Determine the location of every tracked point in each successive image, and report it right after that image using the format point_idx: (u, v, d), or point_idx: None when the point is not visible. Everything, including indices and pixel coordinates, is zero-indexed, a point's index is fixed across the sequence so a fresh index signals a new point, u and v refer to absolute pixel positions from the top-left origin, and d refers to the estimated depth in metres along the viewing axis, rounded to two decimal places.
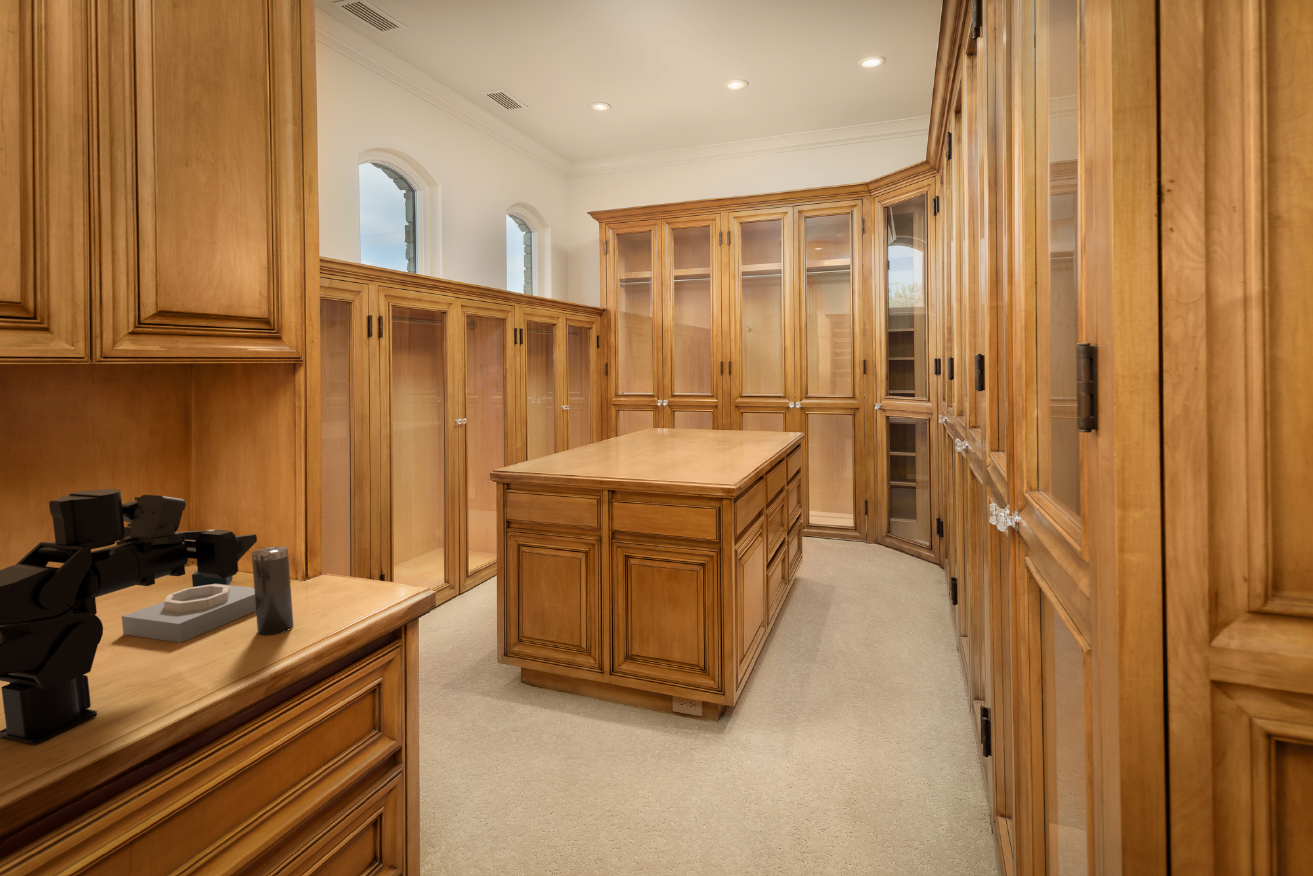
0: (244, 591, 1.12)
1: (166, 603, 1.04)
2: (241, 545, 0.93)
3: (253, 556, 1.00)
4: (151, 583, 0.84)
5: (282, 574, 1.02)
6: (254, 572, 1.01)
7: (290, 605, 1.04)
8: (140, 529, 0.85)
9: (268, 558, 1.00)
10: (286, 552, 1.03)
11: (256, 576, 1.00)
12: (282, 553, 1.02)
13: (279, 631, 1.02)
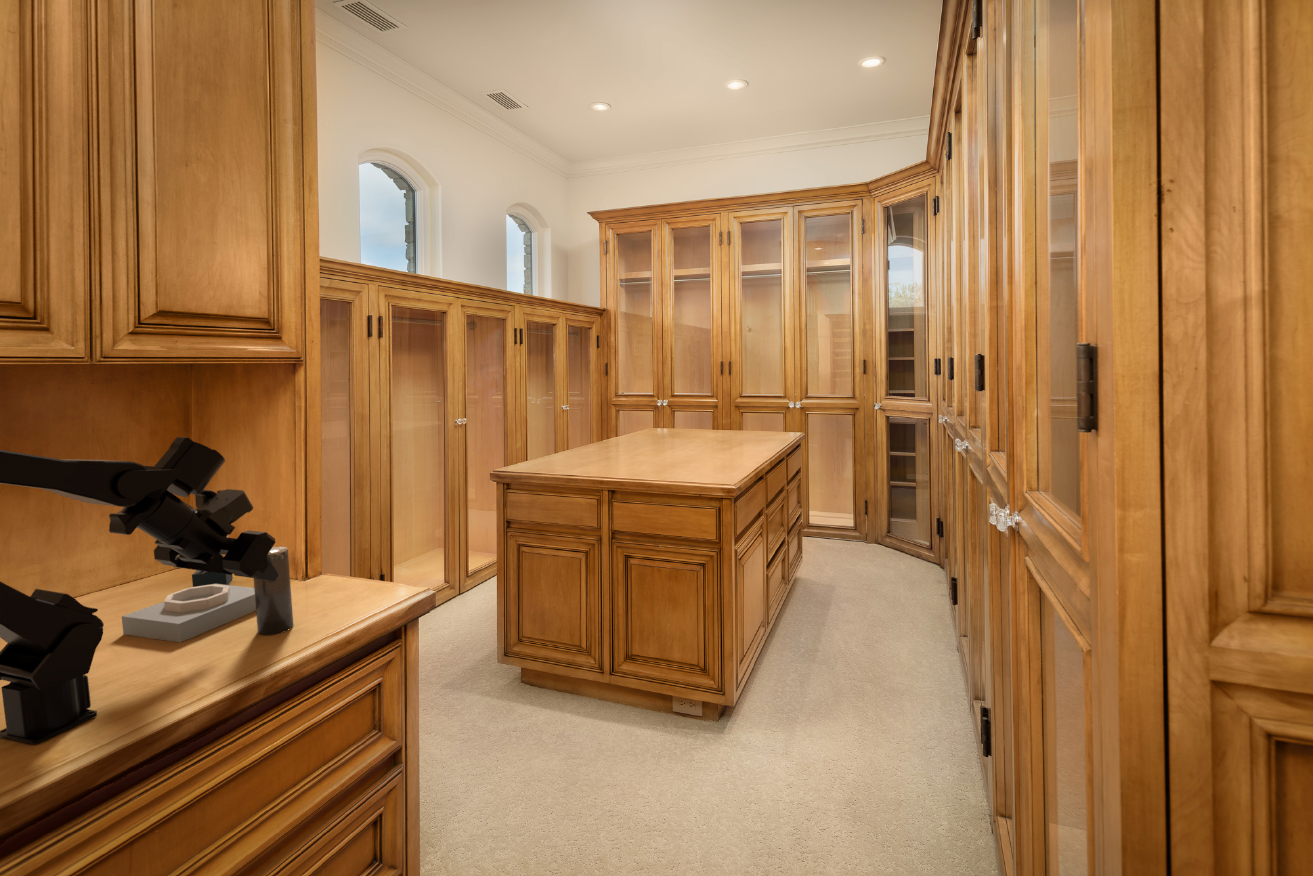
0: (244, 591, 1.12)
1: (166, 603, 1.04)
2: (265, 568, 0.95)
3: None
4: (182, 546, 0.87)
5: (282, 574, 1.02)
6: None
7: (290, 605, 1.04)
8: (206, 508, 0.93)
9: None
10: (286, 552, 1.03)
11: None
12: (282, 553, 1.02)
13: (279, 631, 1.02)
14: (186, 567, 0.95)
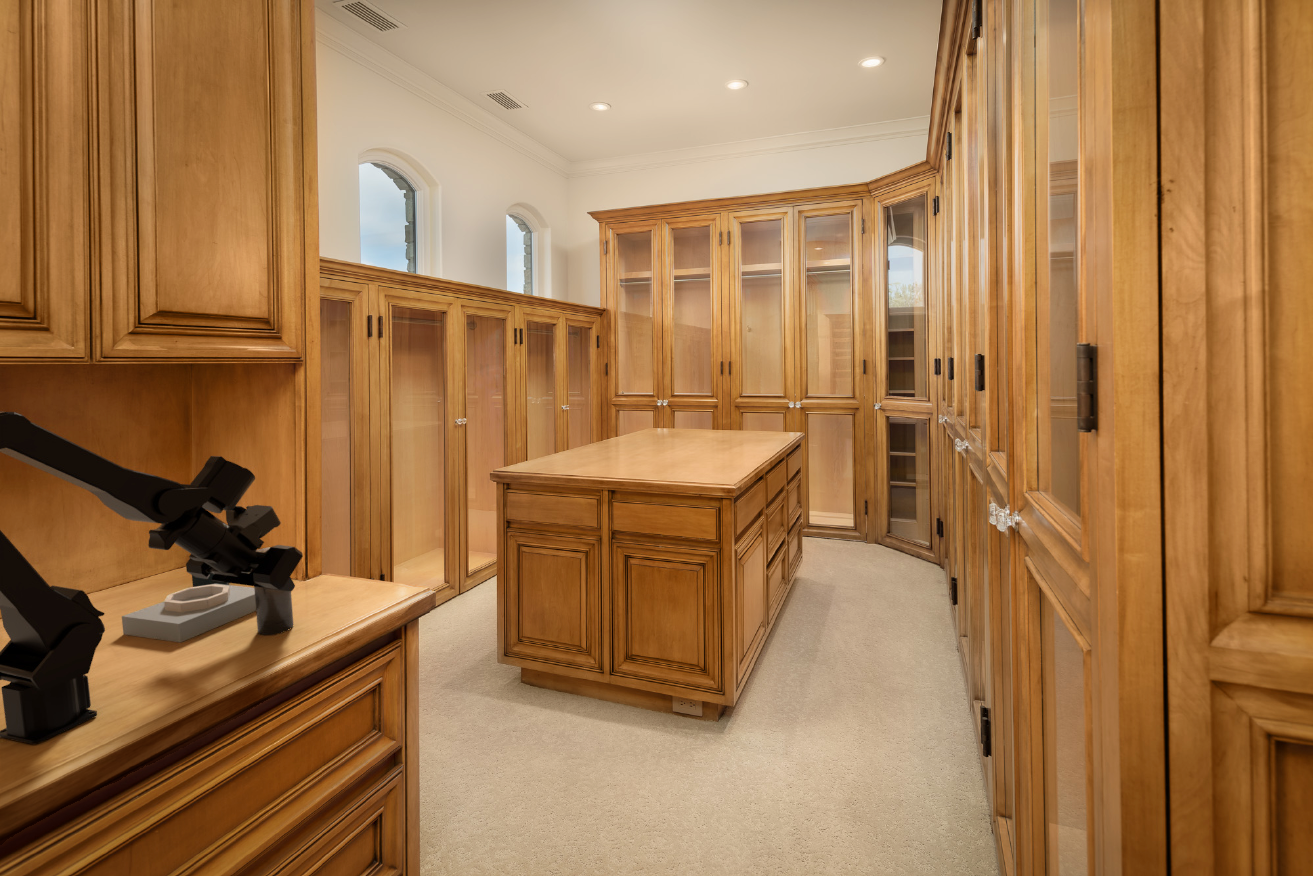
0: (244, 591, 1.12)
1: (166, 603, 1.04)
2: None
3: None
4: (215, 560, 0.91)
5: None
6: None
7: (290, 605, 1.04)
8: (237, 523, 0.97)
9: None
10: None
11: None
12: None
13: (279, 631, 1.02)
14: (225, 581, 0.99)
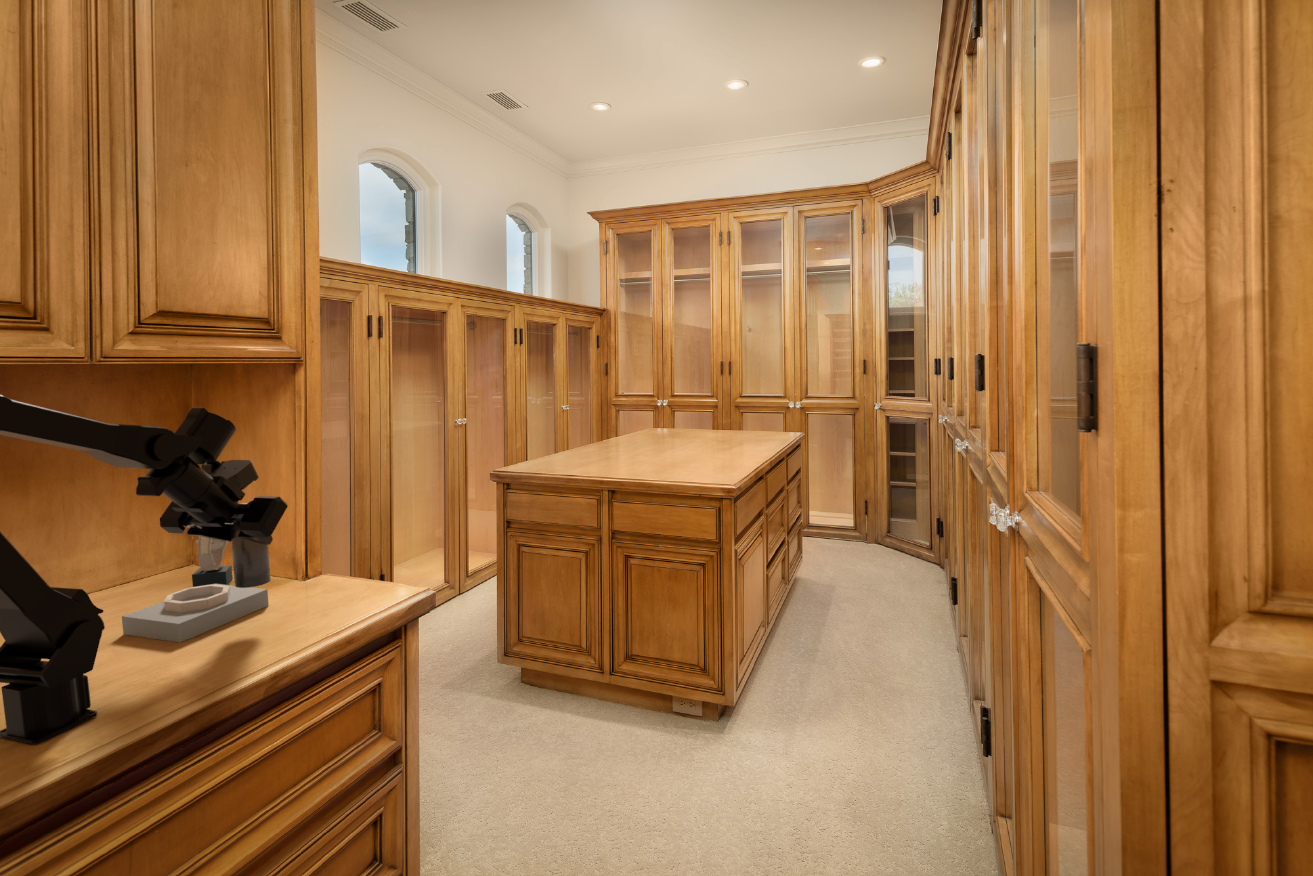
0: (244, 591, 1.12)
1: (166, 603, 1.04)
2: None
3: None
4: (202, 509, 0.93)
5: None
6: (232, 525, 1.02)
7: (268, 558, 1.05)
8: (216, 476, 0.99)
9: None
10: None
11: (234, 530, 1.02)
12: None
13: (259, 583, 1.04)
14: (203, 534, 0.99)
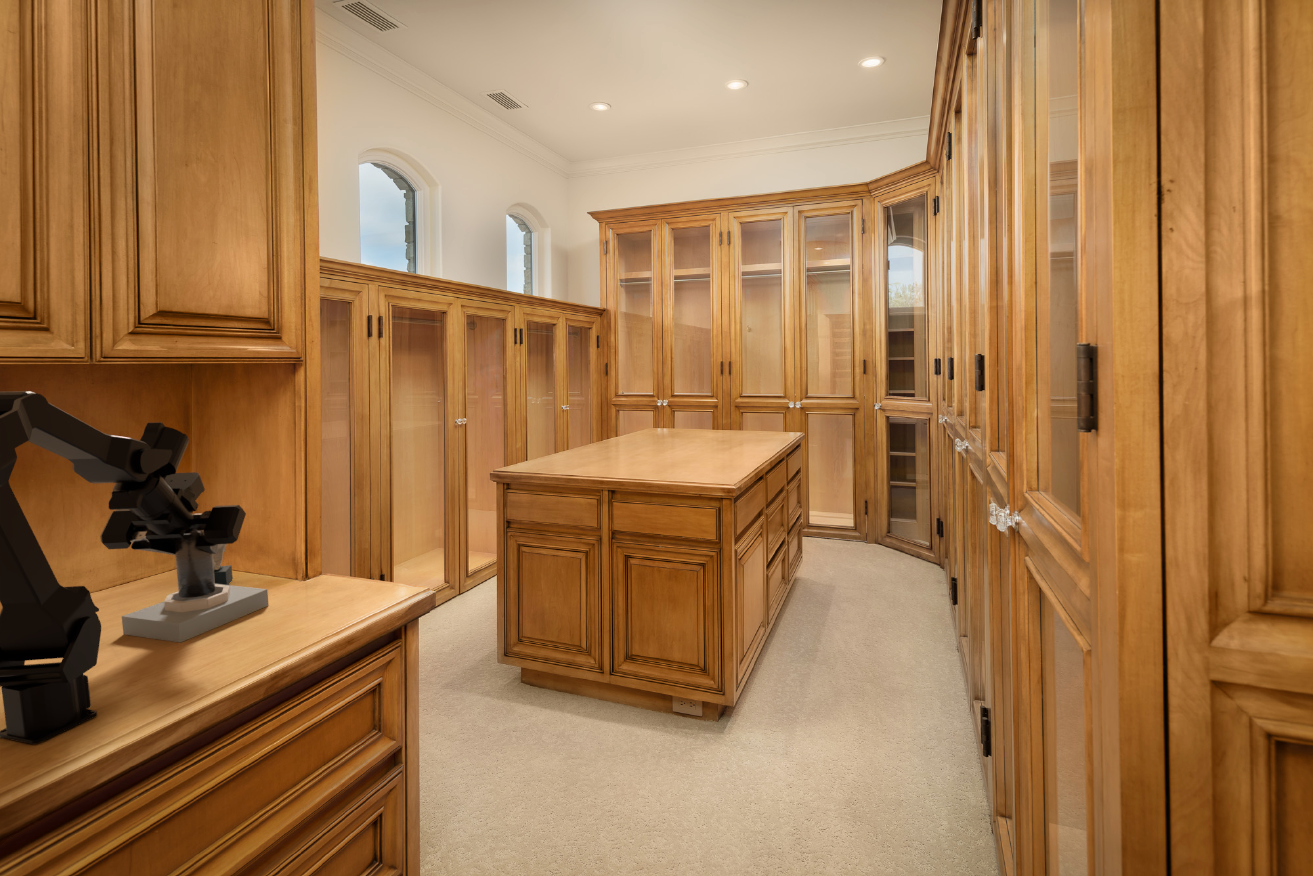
0: (244, 591, 1.12)
1: (166, 603, 1.04)
2: None
3: None
4: (168, 520, 0.96)
5: None
6: None
7: (213, 567, 1.08)
8: None
9: None
10: None
11: (182, 541, 1.04)
12: None
13: (208, 592, 1.07)
14: (151, 547, 1.01)
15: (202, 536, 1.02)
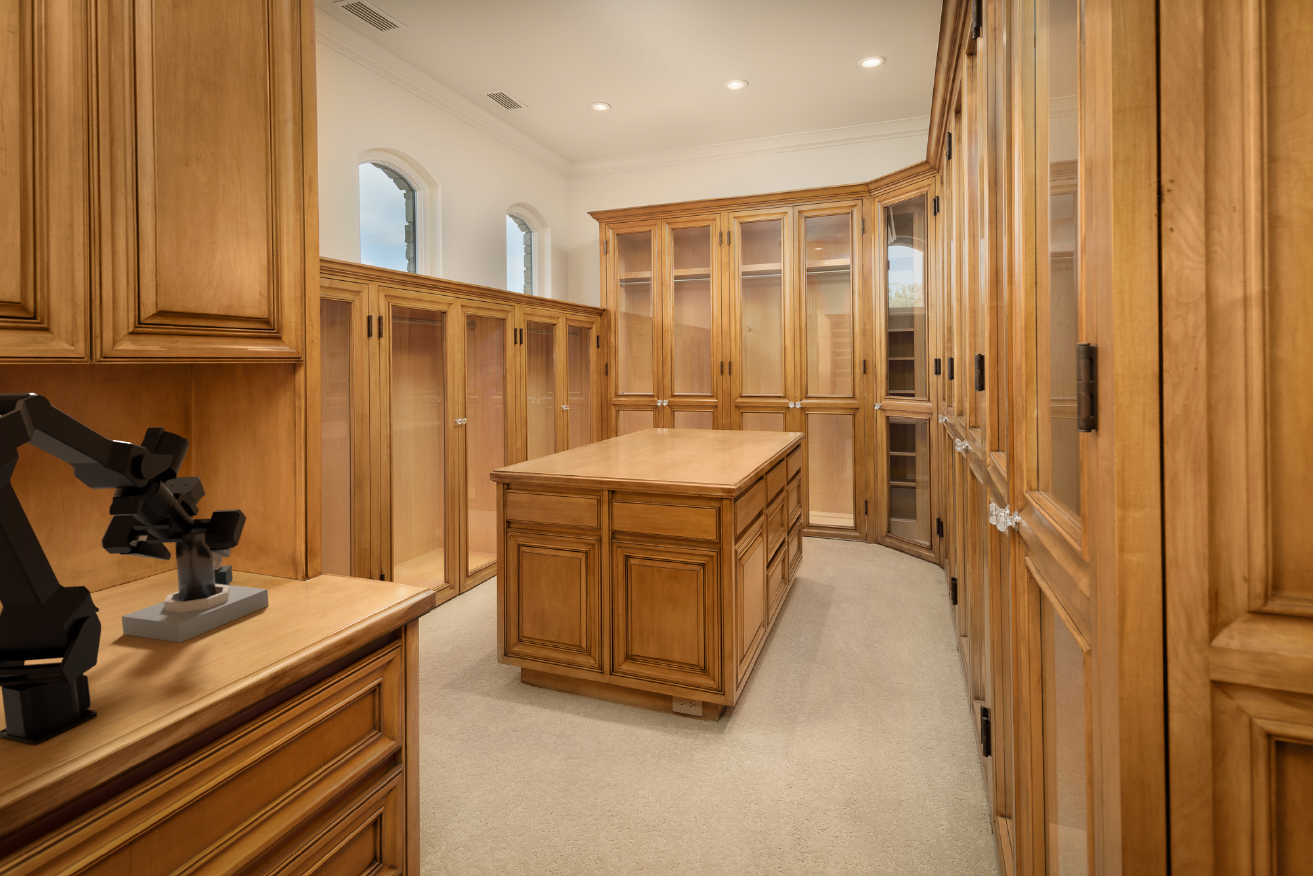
0: (244, 591, 1.12)
1: (166, 603, 1.04)
2: None
3: None
4: (169, 525, 0.96)
5: None
6: (181, 547, 1.04)
7: (214, 577, 1.09)
8: None
9: None
10: None
11: (184, 551, 1.04)
12: None
13: None
14: (139, 552, 1.00)
15: None
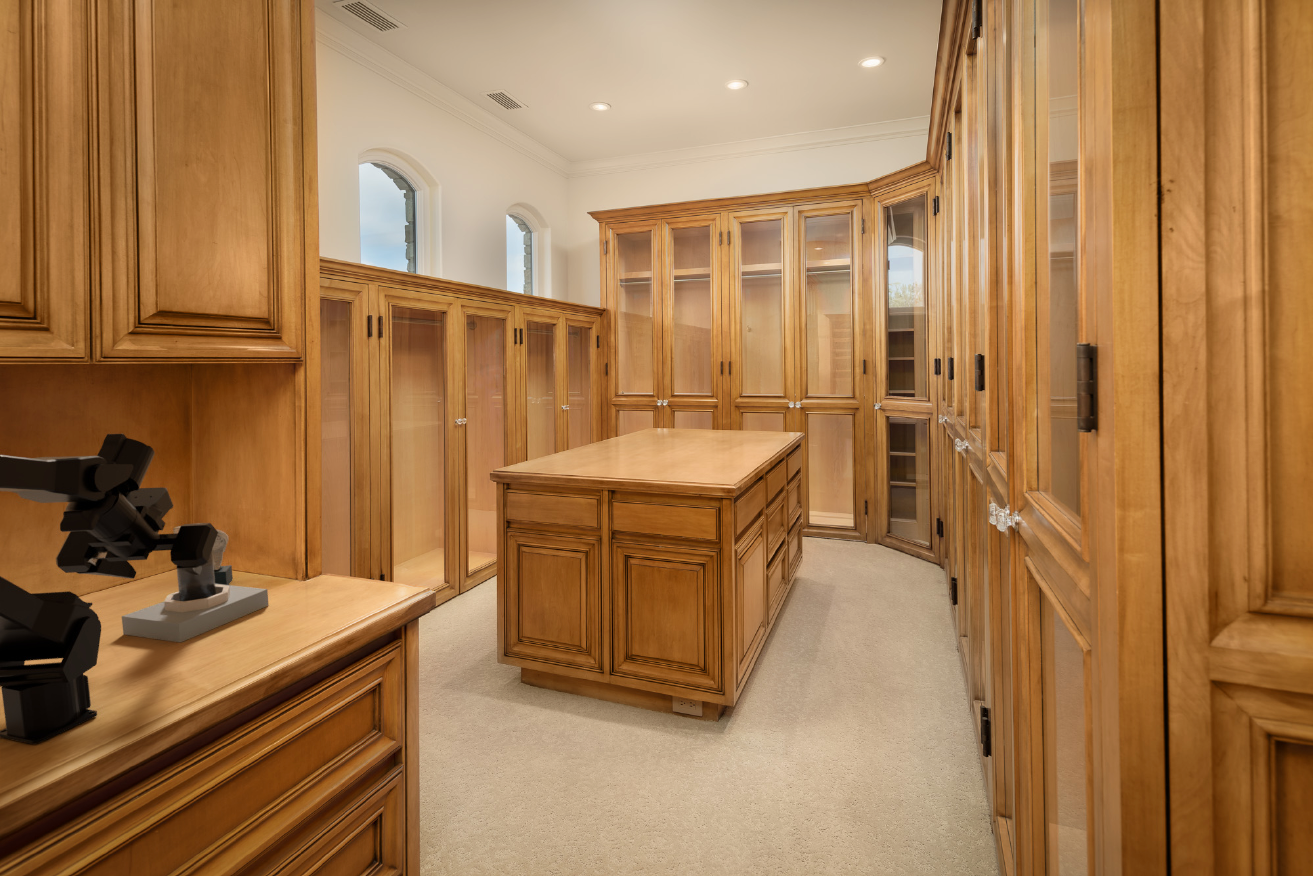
0: (244, 591, 1.12)
1: (166, 603, 1.04)
2: None
3: None
4: (130, 541, 0.87)
5: None
6: None
7: (214, 577, 1.09)
8: None
9: None
10: None
11: None
12: None
13: None
14: (98, 571, 0.91)
15: None
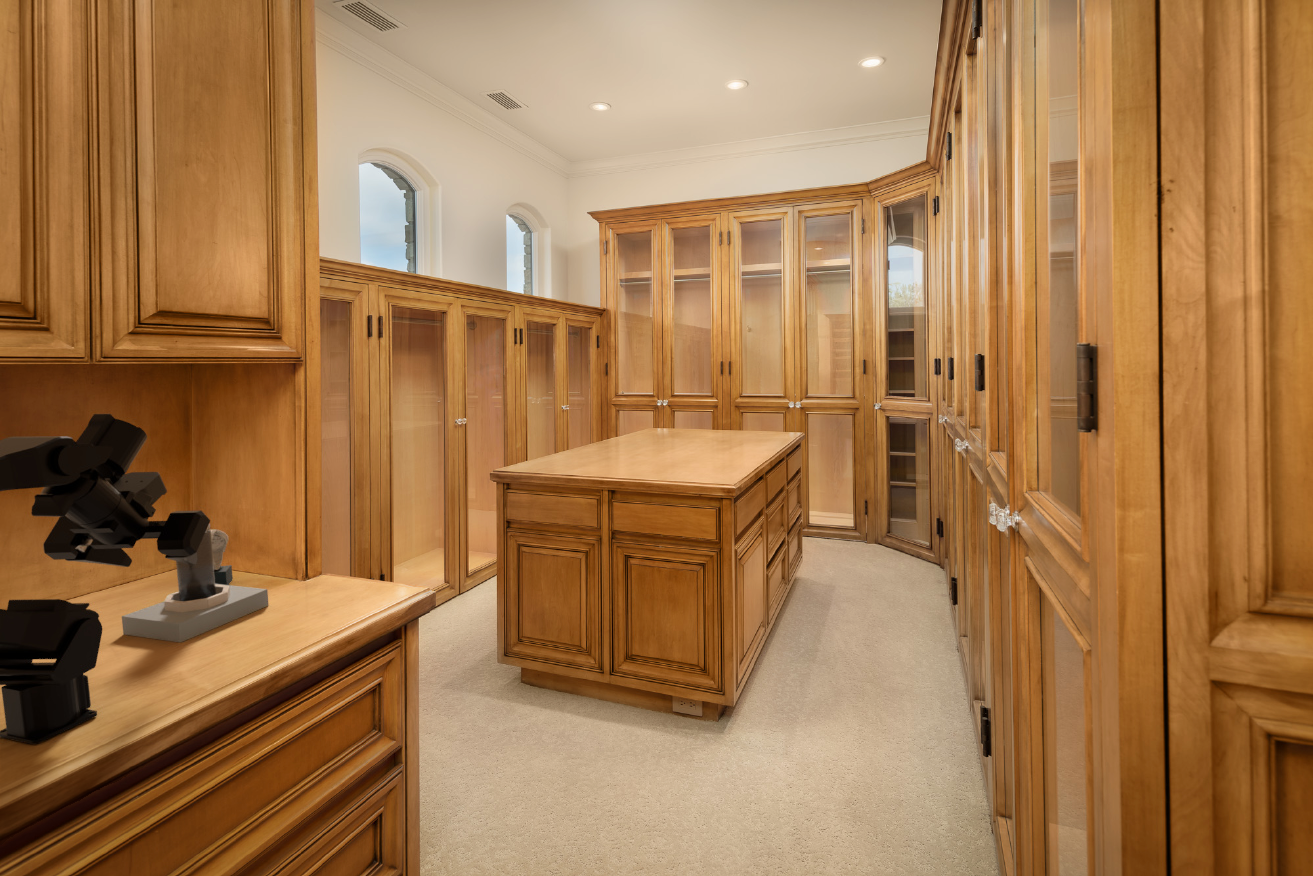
0: (244, 591, 1.12)
1: (166, 603, 1.04)
2: None
3: None
4: (112, 528, 0.82)
5: (209, 547, 1.07)
6: None
7: (214, 577, 1.09)
8: (119, 491, 0.87)
9: None
10: None
11: None
12: (208, 527, 1.07)
13: None
14: (87, 559, 0.87)
15: None
